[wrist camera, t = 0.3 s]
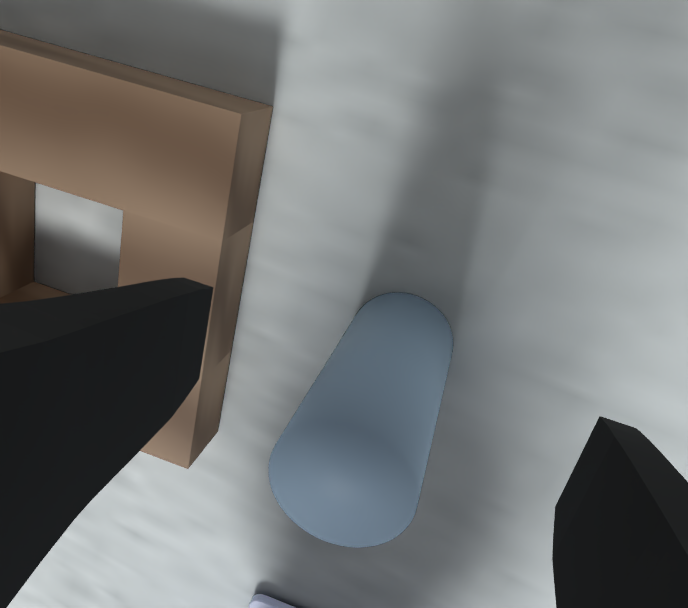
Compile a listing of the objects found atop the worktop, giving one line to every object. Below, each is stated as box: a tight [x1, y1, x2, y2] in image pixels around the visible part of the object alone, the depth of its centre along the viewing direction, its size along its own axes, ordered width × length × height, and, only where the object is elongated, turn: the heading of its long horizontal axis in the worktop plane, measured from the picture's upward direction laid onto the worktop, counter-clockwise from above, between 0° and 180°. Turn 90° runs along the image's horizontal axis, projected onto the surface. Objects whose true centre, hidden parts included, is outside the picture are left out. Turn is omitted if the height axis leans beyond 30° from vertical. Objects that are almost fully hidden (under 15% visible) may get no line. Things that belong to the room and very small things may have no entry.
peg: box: [269, 293, 453, 547], centre depth 18 cm, size 4×4×8 cm
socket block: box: [0, 30, 273, 469], centre depth 22 cm, size 13×12×2 cm
